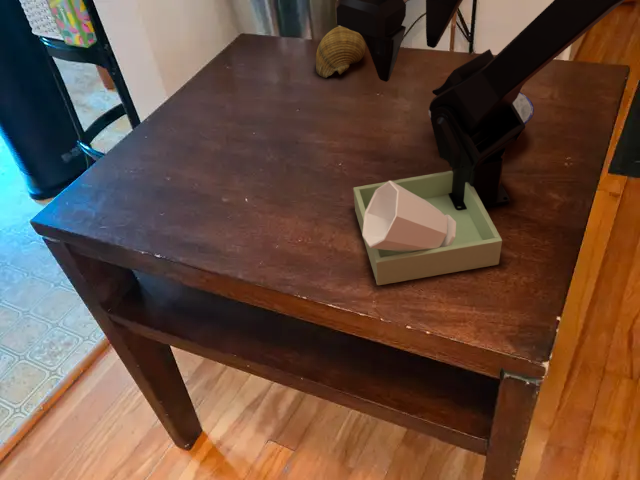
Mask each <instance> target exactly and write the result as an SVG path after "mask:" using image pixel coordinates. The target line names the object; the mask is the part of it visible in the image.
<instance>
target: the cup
mask: <svg viewBox="0 0 640 480" xmlns="http://www.w3.org/2000/svg"><path fill="white" fill-rule="evenodd" d="M392 181H393V180H387V181H386V182H387V183H385V184H384V185H382V186H381V187H379V188H378V189H377V190H376V191H375V193H374V195H373V197H372V199H371V201H370V203H369V205H368V207H367V209H366V211H365V216H364V225H363V235H362V234H361V235H362V239H363V238H364V239H365V241H366V242H367V244H368V245H369V247H370V248H375V249H383V250H392V251H399V252H406V253H412V252H418V251H423V250H429V249H435V248H441V247H446V246H450V245H451V244H452V242H453V240H454V238H455V233H456V221H455V220H454V219H453V218H452V217H451V216H450V215H447V214H446V215H444V214H443V213H442V212H441V211H440V210H438V209H437V208H436V207H434V206H433V205H431V204H430V203H429V202H427V201H426V200H424V199H422V198H420V197H419V196H417V195H415V194H413V193H411V192H409V191H408V190H406V189H404V188H403V187H401V186H399V185H397V184H396V183H394V182H392ZM364 239H363V240H364Z"/></svg>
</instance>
